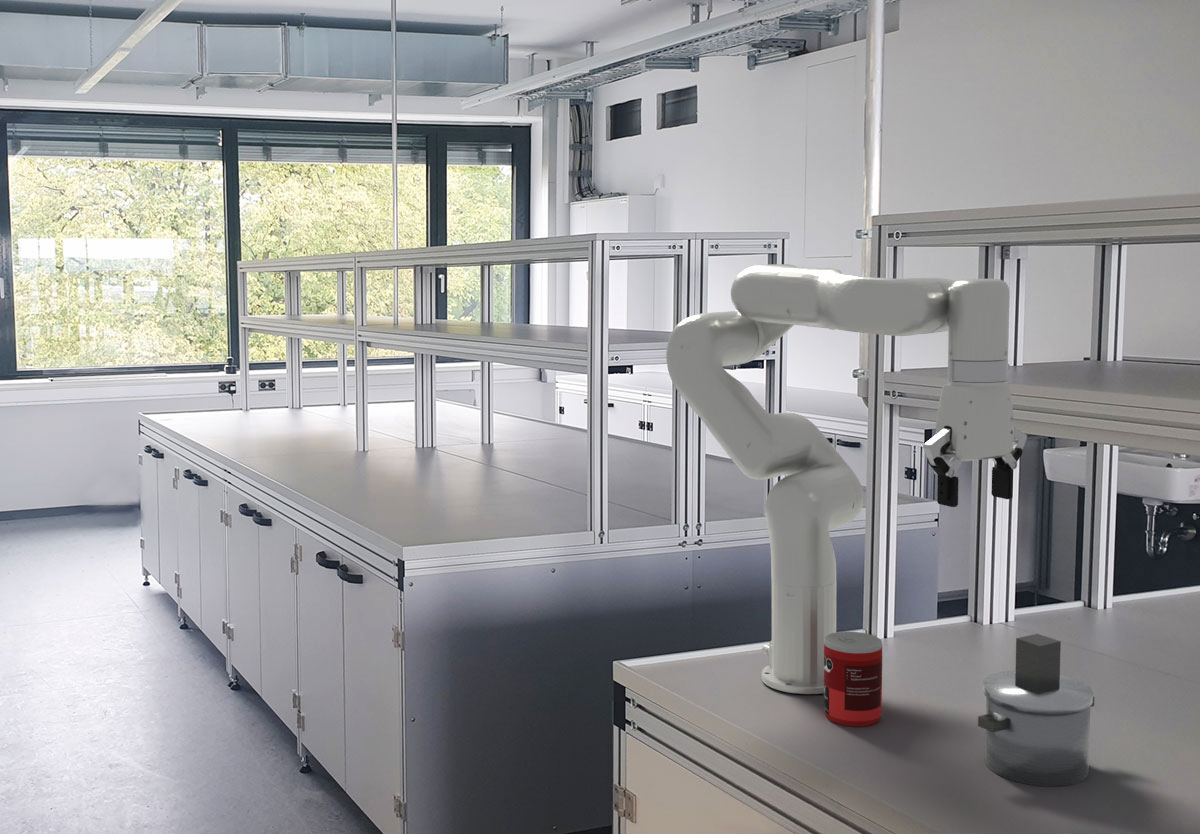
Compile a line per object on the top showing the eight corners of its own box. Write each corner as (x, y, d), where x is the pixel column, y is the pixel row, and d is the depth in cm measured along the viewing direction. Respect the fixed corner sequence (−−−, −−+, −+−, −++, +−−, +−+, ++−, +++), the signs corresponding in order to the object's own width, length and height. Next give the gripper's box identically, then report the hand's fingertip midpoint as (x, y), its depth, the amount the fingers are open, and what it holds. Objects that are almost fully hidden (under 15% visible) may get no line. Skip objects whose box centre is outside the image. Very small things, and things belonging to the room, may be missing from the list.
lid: (961, 689, 148) (961, 634, 147) (1033, 671, 154) (1034, 619, 153) (1040, 721, 137) (1042, 662, 136) (1115, 701, 143) (1117, 645, 142)
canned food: (839, 702, 169) (840, 627, 168) (891, 715, 164) (892, 638, 163) (813, 718, 163) (813, 641, 162) (866, 732, 158) (866, 652, 157)
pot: (948, 762, 148) (949, 693, 147) (1047, 735, 156) (1049, 669, 155) (1022, 799, 137) (1024, 724, 136) (1125, 768, 145) (1127, 697, 144)
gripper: (1004, 368, 163) (1001, 490, 165) (907, 375, 155) (905, 503, 157) (1047, 371, 156) (1043, 499, 158) (948, 379, 149) (946, 513, 151)
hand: (975, 501), depth 158 cm, fingers open, 9 cm apart
